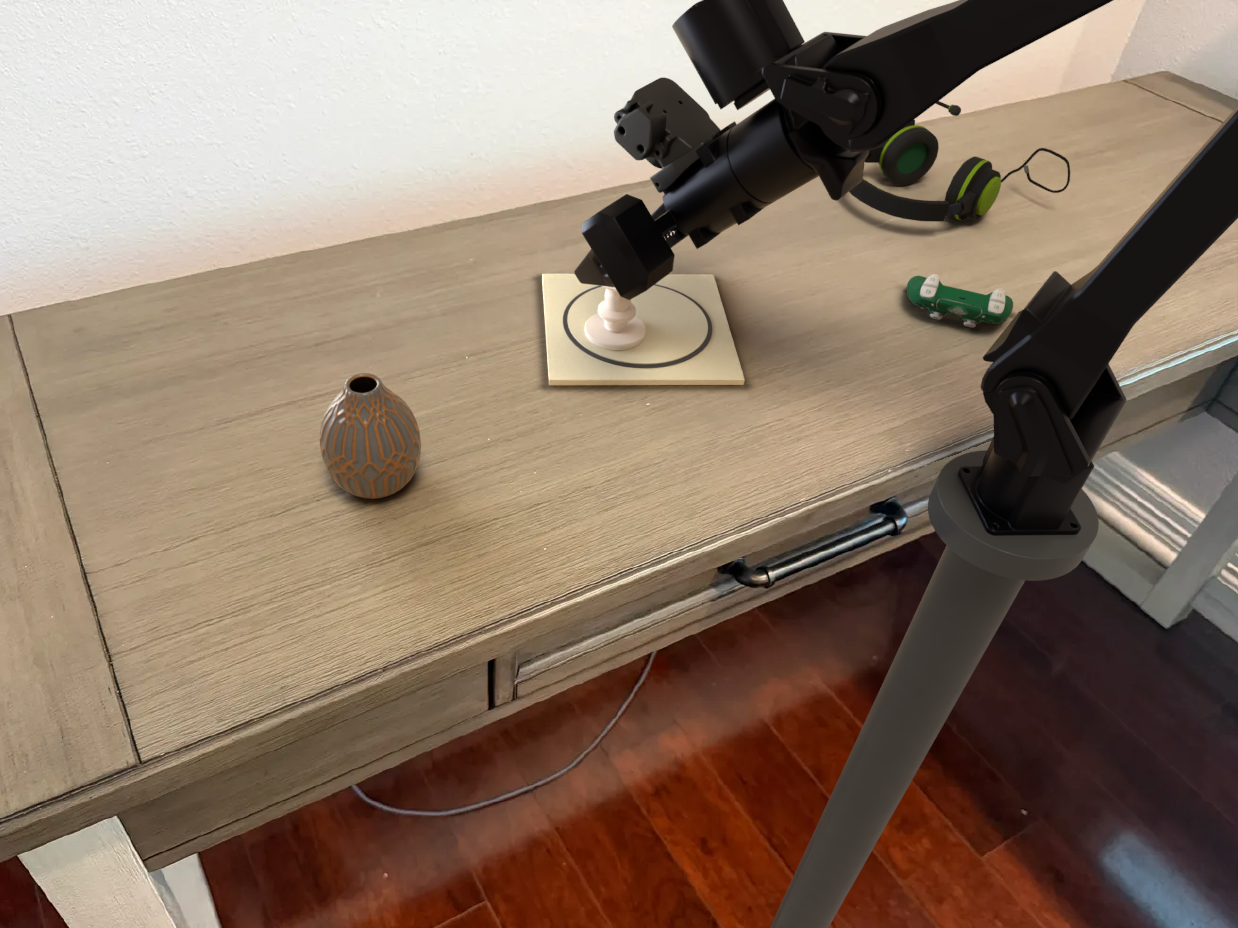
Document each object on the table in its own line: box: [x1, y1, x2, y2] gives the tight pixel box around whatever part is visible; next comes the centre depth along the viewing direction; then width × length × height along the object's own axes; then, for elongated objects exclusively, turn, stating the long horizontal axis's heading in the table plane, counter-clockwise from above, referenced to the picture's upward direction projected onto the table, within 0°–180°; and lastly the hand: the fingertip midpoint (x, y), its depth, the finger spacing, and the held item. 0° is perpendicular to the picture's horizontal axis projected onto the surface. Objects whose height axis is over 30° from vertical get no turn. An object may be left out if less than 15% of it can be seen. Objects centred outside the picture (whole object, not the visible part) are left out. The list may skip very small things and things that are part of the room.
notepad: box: [541, 273, 746, 386], centre depth 85 cm, size 16×16×1 cm
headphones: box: [848, 100, 1071, 222], centre depth 100 cm, size 16×10×20 cm
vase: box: [319, 372, 422, 500], centre depth 68 cm, size 7×7×9 cm
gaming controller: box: [906, 273, 1014, 328], centre depth 87 cm, size 9×4×6 cm
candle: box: [584, 286, 646, 350], centre depth 80 cm, size 5×5×10 cm
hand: (612, 253), depth 79 cm, fingers open, 9 cm apart
